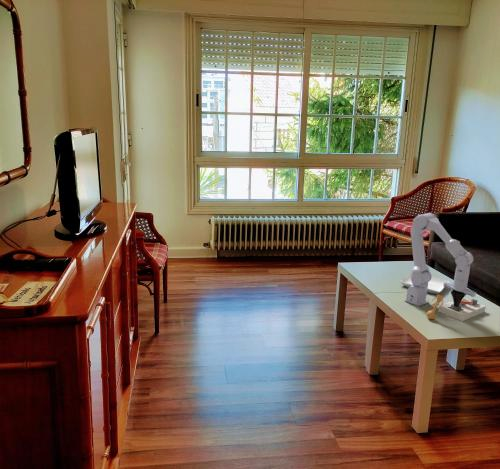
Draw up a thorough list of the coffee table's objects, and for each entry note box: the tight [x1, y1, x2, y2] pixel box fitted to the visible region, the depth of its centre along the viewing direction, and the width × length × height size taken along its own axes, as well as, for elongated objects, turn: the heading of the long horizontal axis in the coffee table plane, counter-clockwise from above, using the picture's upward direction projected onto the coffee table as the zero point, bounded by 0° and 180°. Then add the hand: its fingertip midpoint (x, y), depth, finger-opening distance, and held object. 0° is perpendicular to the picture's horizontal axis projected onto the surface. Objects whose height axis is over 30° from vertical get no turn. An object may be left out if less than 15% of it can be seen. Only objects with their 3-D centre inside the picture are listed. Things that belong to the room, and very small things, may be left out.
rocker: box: [460, 299, 473, 305], centre depth 213 cm, size 3×8×1 cm, turn 37°
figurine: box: [426, 293, 444, 320], centre depth 203 cm, size 8×6×12 cm
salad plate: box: [399, 272, 451, 295], centre depth 246 cm, size 21×21×3 cm
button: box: [451, 304, 461, 312], centre depth 210 cm, size 4×4×3 cm
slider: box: [470, 298, 478, 305], centre depth 215 cm, size 2×2×2 cm
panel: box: [437, 297, 487, 322], centre depth 214 cm, size 20×12×4 cm, turn 126°
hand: (456, 306), depth 210 cm, fingers closed, pressing on button
